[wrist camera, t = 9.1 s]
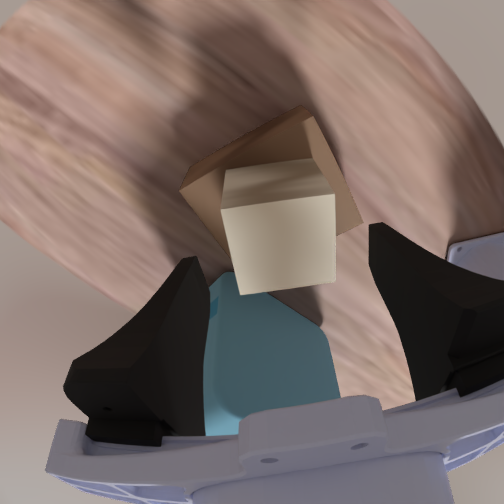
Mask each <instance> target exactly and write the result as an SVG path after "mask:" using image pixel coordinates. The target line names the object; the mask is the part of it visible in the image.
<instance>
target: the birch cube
mask: <svg viewBox="0 0 504 504" xmlns="http://www.w3.org/2000/svg"><path fill="white" fill-rule="evenodd" d="M221 214H222V219H223V223H224V227H225V232H226V236H227V241H228V245H229V249H230V254H231V258H232V262H233V267H234V271H235V275H236V280H237V284H238V288H239V292H240V295H246V294H254V293H261V292H269V291H276V290H283V289H291V288H298V287H304V286H311V285H318V284H325V283H331V282H336V216H335V193H334V192H333V190H332V188H331V187H330V185H329V183H328V182H327V180H326V178H325V177H324V175H323V174H322V172H321V170H320V169H319V167H318V166H317V164H316V163H315V161H314V159H313V158H309V159H300V160H292V161H284V162H276V163H269V164H262V165H255V166H248V167H241V168H235V169H229V170H226V172H225V179H224V187H223V194H222V202H221Z"/></svg>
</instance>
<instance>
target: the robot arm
mask: <svg viewBox="0 0 504 504" xmlns="http://www.w3.org/2000/svg"><path fill="white" fill-rule="evenodd" d="M458 248H459V249H458ZM369 267H370V270H371V273H372V276H373V278H374V281H375V284H376V286H377V288H378V290H379V292H380V294H381V296H382V298H383V300H384V302H385V304H386V306H387V308H388V310H389V312H390V315H391V317H392V319H393V321H394V323H395V325H396V328H397V330H398V333H399V336H400V339H401V342H402V346H403V349H404V352H405V356H406V359H407V363H408V367H409V371H410V375H411V379H412V384H413V388H414V394H415V399H416V401H415V402H412V403H409V404H405V405H402V406H398V407H395V408H391V409H387V410H383V411H382V407H381V404H380V401H379V399H377V398H375V397H371V396H367V395H357V396H347V397H343V398H338V399H333V400H327V401H322V402H316V403H311V404H305V405H298V406H292V407H285V408H277V409H269V410H264V411H260V412H256V413H251V414H250V415H248V416H247V417H245V418H244V419H242V420H241V421H239V429H238V434H236V435H219V436H206V432H205V418H204V395H203V365H204V354H205V347H206V340H207V333H208V326H209V319H210V290H209V288H208V285H207V283H206V280H205V277H204V275H203V272H202V269H201V267H200V264H199V261H198V259H197V256H193V257H188V258H183V259H182V260H181V261H180V262H179V264H178V265H177V266H176V267H175V269H174V270H173V271H172V273H171V274H170V275H169V277H168V278H167V279H166V281H165V282H164V283H163V284H162V286H161V287H160V288H159V289H158V291H157V292H156V293H155V294H154V295H153V297H152V298H151V299H150V300H149V301H148V302H147V304H146V305H145V306H144V307H143V308H142V309H141V310H140V311H139V312H138V313H137V314H136V315H135V316H134V317H133V318H132V319H131V320H130V321H129V322H128V323H126V324H125V325H124V326H123V327H122V328H121V329H119V330H118V331H117V332H116V333H115V334H113V335H112V336H111V337H109V338H108V339H107V340H106V341H104V342H103V343H101V344H100V345H98V346H97V347H95V348H94V349H92V350H91V351H89V352H87V353H85V354H84V355H82V356H80V357H78V358H77V359H75V360H73V362H72V364H71V367H70V369H69V372H68V375H67V378H66V380H65V383H64V386H63V389H64V392H65V394H66V396H67V397H68V398H69V400H71V402H72V403H73V404H75V406H77V407H78V408H79V409H80V410H81V411H82V412H83V413H84V414H86V415H87V416H88V417H89V420H88V424H85V423H83V422H79V421H73V420H64V419H60V420H59V423H58V425H57V429H56V432H55V435H54V439H53V442H52V446H51V450H50V453H49V457H48V461H47V465H46V469H45V471H46V472H47V473H49V474H50V475H52V476H54V477H56V478H58V479H59V480H61V481H63V482H65V483H67V484H69V485H71V486H73V487H75V488H76V489H79V490H81V491H83V492H86V493H90V494H93V495H97V496H102V497H106V498H110V499H115V500H119V501H124V502H129V503H134V504H454V500H453V495H452V491H451V487H450V484H449V480H448V476H447V472H449V471H451V470H453V469H456V468H457V467H460V466H462V465H464V464H466V463H468V462H470V461H472V460H474V459H476V458H478V457H480V456H482V455H483V454H485V453H487V452H489V451H491V450H492V449H494V448H496V447H498V446H500V445H501V444H503V443H504V232H502V233H498V234H494V235H489V236H485V237H481V238H476V239H472V240H468V241H463V242H459V243H454V244H452V245H451V246H450V247H449V251H448V256H447V261H446V260H444V259H442V258H440V257H438V256H436V255H434V254H432V253H431V252H429V251H427V250H425V249H424V248H422V247H420V246H419V245H417V244H416V243H414V242H412V241H411V240H409V239H408V238H406V237H405V236H403V235H402V234H400V233H399V232H397V231H396V230H394V229H393V228H391V227H390V226H388V225H386V224H385V223H383V222H380V223H375V224H369Z"/></svg>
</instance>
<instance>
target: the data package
mask: <svg viewBox="0 0 504 504" xmlns="http://www.w3.org/2000/svg"><path fill="white" fill-rule="evenodd" d="M209 290H210V319H209V326H208V333H207V340H206V347H205V354H204V365H203V395H204V418H205V432H206V436H219V435H236V434H238V429H239V421H241V420H242V419H244V418H245V417H247V416H248V415H250V414H251V413H256V412H260V411H264V410H269V409H277V408H285V407H292V406H298V405H305V404H311V403H316V402H322V401H327V400H333V399H338V398H341V396H340V392H339V387H338V382H337V378H336V373H335V369H334V364H333V360H332V355H331V351H330V347H329V343H328V340H327V337H326V336H325V334H324V332H323V331H322V330H321V329H320V328H319V327H318V326H317V325H316V324H314V323H313V322H311V321H310V320H308V319H307V318H305V317H303V316H302V315H300V314H299V313H297V312H296V311H294V310H293V309H291V308H289V307H288V306H286V305H285V304H283V303H282V302H280V301H279V300H277V299H276V298H274V297H272V296H271V295H269V294H268V293H266V292H261V293H254V294H246V295H240V292H239V288H238V284H237V280H236V275H235V273H234V272H225V273H224V274H222V275H221V276H220V277H219V278H218V279H217V280H216V281H215V282H214V283H213V284H212V285H211V286H210V287H209Z"/></svg>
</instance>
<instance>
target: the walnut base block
mask: <svg viewBox="0 0 504 504" xmlns="http://www.w3.org/2000/svg"><path fill="white" fill-rule="evenodd" d="M309 158H313V159H314V161H315V163H316V164H317V166H318V167H319V169H320V170H321V172H322V174H323V175H324V177H325V178H326V180H327V182H328V183H329V185H330V187H331V188H332V190H333V192H334V193H335V216H336V236H337V235H339V234H341V233H344V232H346V231H348V230H350V229H352V228H354V227H356V226H358V225H360V224H362V223H363V220H362V218H361V215H360V213H359V211H358V208H357V206H356V204H355V201H354V199H353V197H352V195H351V192H350V190H349V188H348V186H347V183H346V181H345V179H344V177H343V175H342V173H341V170H340V168H339V166H338V164H337V162H336V160H335V158H334V156H333V154H332V152H331V150H330V148H329V146H328V143H327V141H326V140H325V138H324V136H323V134H322V132H321V130H320V128H319V126H318V124H317V122H316V120H315V118H314V116H313V115H312V114H311V113H309V112H308V111H307V110H306V109H305V108H304V107H303V106H302V105H300V106H298V107H296V108H294V109H292V110H290V111H288V112H287V113H285V114H283V115H281V116H279V117H277V118H275V119H273V120H271V121H269V122H267V123H266V124H264V125H262V126H260V127H258V128H256V129H255V130H253V131H251V132H249V133H247V134H246V135H244V136H242V137H240V138H238V139H237V140H235V141H233V142H231V143H230V144H228V145H226V146H225V147H223V148H221V149H219V150H218V151H216V152H214V153H213V154H211V155H209V156H208V157H206V158H204V159H203V160H201V161H200V162H198V163H196V164H195V165H193V166H191V167H190V168H189V170H188V172H187V174H186V176H185V179H184V181H183V183H182V185H181V187H180V190H179V192H180V193H181V194H182V196H183V197H184V198H185V200H186V201H187V202H188V204H189V205H190V206H191V208H192V209H193V210H194V212H195V213H196V214H197V216H198V217H199V218H200V220H201V221H202V222H203V224H204V225H205V226H206V227H207V229H208V230H209V231H210V233H211V234H212V235H213V237H214V238H215V239H216V241H217V242H218V243H219V245H220V246H221V247H222V248H223V250H224V251H225V252H226V254H227V255H228V256H229V258H230V259H231V260H232V258H231V254H230V249H229V245H228V241H227V236H226V232H225V227H224V223H223V219H222V214H221V202H222V194H223V187H224V179H225V172H226V170H229V169H235V168H241V167H248V166H255V165H262V164H269V163H276V162H284V161H292V160H300V159H309Z"/></svg>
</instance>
